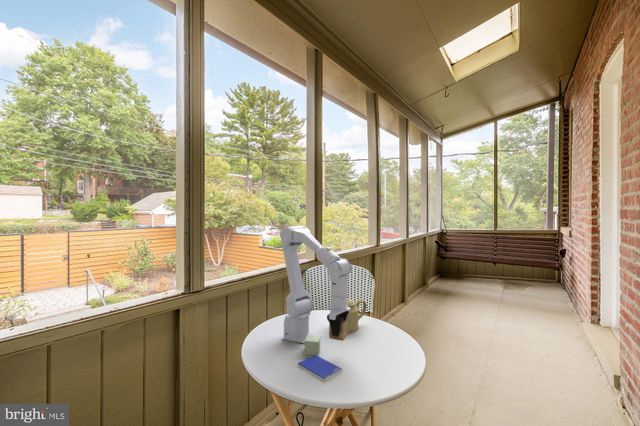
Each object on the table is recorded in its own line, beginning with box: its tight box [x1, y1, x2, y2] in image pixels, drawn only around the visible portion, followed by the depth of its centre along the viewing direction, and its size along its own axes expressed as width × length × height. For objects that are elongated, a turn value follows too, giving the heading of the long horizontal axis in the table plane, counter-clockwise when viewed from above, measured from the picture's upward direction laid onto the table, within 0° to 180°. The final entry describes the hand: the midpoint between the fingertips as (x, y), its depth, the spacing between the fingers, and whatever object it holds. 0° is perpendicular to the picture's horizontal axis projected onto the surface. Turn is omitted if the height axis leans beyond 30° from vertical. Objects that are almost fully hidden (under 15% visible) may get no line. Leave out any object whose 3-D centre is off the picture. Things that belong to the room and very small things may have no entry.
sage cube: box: [304, 334, 321, 356], centre depth 115 cm, size 5×5×5 cm
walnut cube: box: [328, 321, 348, 342], centre depth 112 cm, size 5×5×5 cm
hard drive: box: [297, 355, 343, 382], centre depth 104 cm, size 2×8×12 cm
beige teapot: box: [346, 293, 367, 333], centre depth 138 cm, size 15×11×15 cm
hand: (338, 332), depth 112 cm, fingers closed on walnut cube, 5 cm apart
